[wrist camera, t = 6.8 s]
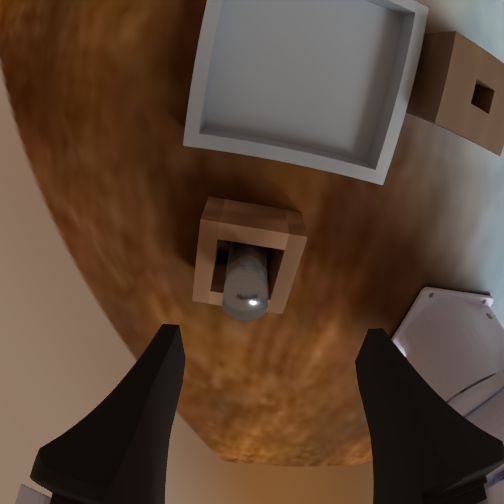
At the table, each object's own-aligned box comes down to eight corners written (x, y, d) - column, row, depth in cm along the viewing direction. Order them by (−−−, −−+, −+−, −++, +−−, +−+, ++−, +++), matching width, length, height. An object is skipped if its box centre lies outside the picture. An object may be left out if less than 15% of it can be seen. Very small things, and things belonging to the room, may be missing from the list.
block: (479, 69, 13) (520, 77, 9) (462, 136, 15) (500, 156, 12) (418, 34, 12) (456, 31, 9) (400, 110, 15) (434, 123, 12)
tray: (409, 12, 12) (428, 7, 10) (369, 171, 17) (382, 185, 15) (224, -37, 11) (219, -51, 9) (191, 136, 16) (183, 145, 14)
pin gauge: (268, 227, 19) (272, 290, 14) (261, 256, 21) (263, 323, 16) (233, 221, 19) (225, 283, 14) (228, 251, 20) (219, 317, 15)
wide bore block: (300, 212, 19) (307, 237, 16) (279, 284, 22) (282, 314, 19) (208, 196, 18) (200, 219, 16) (199, 271, 21) (192, 300, 19)
